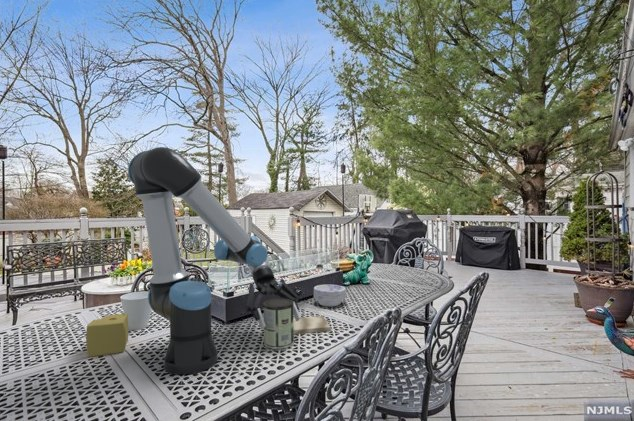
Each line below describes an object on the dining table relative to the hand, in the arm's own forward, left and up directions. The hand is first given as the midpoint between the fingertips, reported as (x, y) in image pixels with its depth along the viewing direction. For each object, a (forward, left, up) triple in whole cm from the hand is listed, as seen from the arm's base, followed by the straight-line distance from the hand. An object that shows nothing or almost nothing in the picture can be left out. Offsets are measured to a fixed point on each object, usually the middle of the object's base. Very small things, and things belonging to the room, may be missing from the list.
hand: (281, 323), depth 117 cm
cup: (-53, +28, -7) cm, 60 cm away
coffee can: (-1, +1, -7) cm, 7 cm away
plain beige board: (+10, +14, -7) cm, 19 cm away
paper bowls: (+27, +42, -7) cm, 50 cm away
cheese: (-56, +8, -7) cm, 57 cm away
